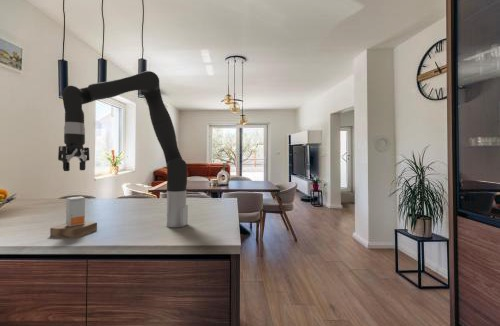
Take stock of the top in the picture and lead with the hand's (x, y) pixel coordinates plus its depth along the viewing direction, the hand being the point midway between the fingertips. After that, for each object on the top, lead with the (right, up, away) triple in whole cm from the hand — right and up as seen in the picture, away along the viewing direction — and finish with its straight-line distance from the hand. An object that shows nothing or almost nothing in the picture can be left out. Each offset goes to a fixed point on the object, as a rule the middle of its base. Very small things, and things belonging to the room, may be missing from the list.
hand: (74, 170), depth 114 cm
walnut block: (0, -28, 0) cm, 28 cm away
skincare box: (0, -24, +1) cm, 24 cm away
